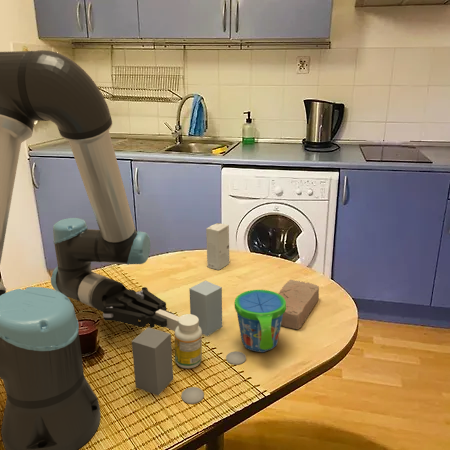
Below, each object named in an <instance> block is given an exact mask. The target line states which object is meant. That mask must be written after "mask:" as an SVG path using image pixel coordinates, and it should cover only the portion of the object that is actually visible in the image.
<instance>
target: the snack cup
mask: <svg viewBox="0 0 450 450" xmlns="http://www.w3.org/2000/svg"><path fill="white" fill-rule="evenodd" d="M278 293H279V292H278ZM278 293H277V292H275V291H272V290H269V289H268V290H266V289H251V290H246V291H243V292H241V293H239V294H238V295H237V296H236V298H235V300H234V310H235V312H236V315H237V321H238V322H237V323H238V327H239V332H240V339H241V342H242V344H243V346H244V347H245V349H246V350H250V351H253V352H258V353H266V352H267V351H272V350H273V349H275V347H277V345H278V342H279V338H280V332H281V328H282V326H281V323H282V318H283V313H284V312H285V311H286V301H285V299H284V298H283V297H282V296H281V295H280V294H278Z"/></svg>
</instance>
